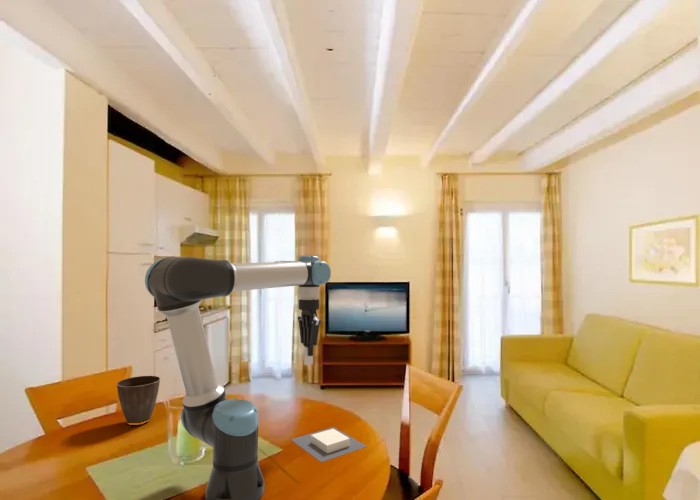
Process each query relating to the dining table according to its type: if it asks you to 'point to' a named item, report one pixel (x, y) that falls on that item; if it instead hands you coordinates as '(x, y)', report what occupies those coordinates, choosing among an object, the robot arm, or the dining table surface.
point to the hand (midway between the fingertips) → (308, 364)
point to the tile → (330, 440)
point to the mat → (320, 454)
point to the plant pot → (138, 397)
